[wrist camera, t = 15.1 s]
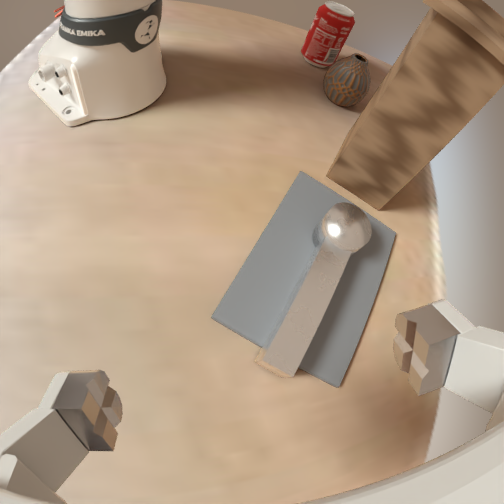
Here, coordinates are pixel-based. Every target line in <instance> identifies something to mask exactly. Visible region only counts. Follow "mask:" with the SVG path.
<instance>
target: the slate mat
mask: <svg viewBox="0 0 504 504" xmlns="http://www.w3.org/2000/svg"><path fill="white" fill-rule="evenodd" d="M341 202H347V203H351V202H350V201H348V200H347V199H345V198H344V197H342V196H341V195H339V194H337V193H336V192H334V191H333V190H331V189H330V188H328V187H326V186H325V185H323V184H322V183H320V182H318V181H317V180H315V179H313V178H312V177H310V176H309V175H307V174H305V173H304V172H302V171H300V173H299V174H298V176H297V178H296V179H295V181H294V183H293V184H292V186H291V187H290V189H289V191H288V192H287V194H286V196H285V197H284V199H283V201H282V202H281V204H280V205H279V207H278V209H277V210H276V212H275V214H274V215H273V217H272V219H271V220H270V222H269V223H268V225H267V227H266V228H265V230H264V232H263V233H262V235H261V237H260V238H259V240H258V241H257V243H256V245H255V246H254V248H253V250H252V251H251V253H250V255H249V256H248V258H247V259H246V261H245V263H244V264H243V266H242V268H241V269H240V271H239V273H238V274H237V276H236V277H235V279H234V281H233V282H232V284H231V286H230V287H229V289H228V291H227V292H226V294H225V295H224V297H223V299H222V300H221V302H220V304H219V305H218V307H217V309H216V310H215V312H214V313H213V315H212V317H211V318H212V319H213V320H215V321H217V322H218V323H220V324H222V325H223V326H225V327H227V328H229V329H230V330H232V331H234V332H235V333H237V334H239V335H240V336H242V337H244V338H246V339H247V340H249V341H251V342H253V343H254V344H256V345H258V346H260V347H261V348H262V347H263V345H264V343H265V341H266V340H267V338H268V336H269V334H270V332H271V330H272V329H273V327H274V325H275V323H276V321H277V319H278V318H279V316H280V314H281V312H282V310H283V308H284V306H285V305H286V303H287V301H288V299H289V297H290V295H291V293H292V291H293V289H294V287H295V286H296V284H297V282H298V280H299V278H300V276H301V274H302V272H303V270H304V268H305V266H306V264H307V262H308V260H309V258H310V256H311V254H312V252H313V250H314V248H315V246H314V243H313V239H312V235H313V230H314V228H315V226H316V225H317V224H318V223H319V222H320V221H321V219H322V218H323V217H324V216H325V215H326V214H327V212H328V211H329V210H330V209H331V208H332V206H334V205H335V204H337V203H341ZM351 204H353V203H351ZM353 205H354V204H353ZM355 206H356V205H355ZM361 210H362V209H361ZM362 211H363V210H362ZM363 212H364V213H365V214H366V216H367V217H368V219H369V221H370V224H371V229H372V233H371V238H370V240H369V241H368V243H367V244H366V245H364V246H363V247H362V248H361V249H359V250H358V251H357V252H355V253H354V254H353V255H352V256H350V257H349V259H348V262H347V264H346V266H345V269H344V271H343V273H342V276H341V278H340V280H339V282H338V285H337V287H336V289H335V292H334V294H333V296H332V298H331V300H330V303H329V305H328V307H327V309H326V311H325V313H324V316H323V318H322V320H321V322H320V324H319V326H318V328H317V330H316V332H315V335H314V337H313V339H312V341H311V343H310V345H309V347H308V349H307V351H306V353H305V355H304V357H303V359H302V361H301V363H300V365H299V367H298V368H300V369H301V370H303V371H305V372H307V373H309V374H311V375H313V376H315V377H317V378H319V379H321V380H323V381H324V382H326V383H328V384H330V385H332V386H334V387H339V386H340V384H341V381H342V379H343V377H344V375H345V372H346V370H347V368H348V366H349V363H350V361H351V359H352V356H353V354H354V351H355V349H356V347H357V344H358V342H359V339H360V337H361V334H362V332H363V329H364V326H365V324H366V321H367V319H368V316H369V313H370V311H371V308H372V305H373V302H374V300H375V297H376V294H377V291H378V288H379V285H380V282H381V279H382V277H383V273H384V270H385V267H386V264H387V261H388V258H389V255H390V252H391V248H392V245H393V242H394V238H395V235H396V232H394V231H393V230H391V229H390V228H388V227H387V226H386V225H384V224H383V223H381V222H380V221H378V220H377V219H375V218H374V217H372V216H371V215H369V214H368V213H366V212H365V211H363Z"/></svg>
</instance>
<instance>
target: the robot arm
mask: <svg viewBox="0 0 504 504" xmlns="http://www.w3.org/2000/svg"><path fill="white" fill-rule="evenodd" d="M64 3H65V5H64V6H62V7H60V8H58V9H57V10H55V11H54V12H57V11H59V10H61V9H63V10H62V11H60V12H59V13H58V14H57V15H56V16H55V18H56V17H58V16H60V15H61V20H60V26H59V30H58V31H57V32H56V33H55V34H54V35H53V36H52V37H51V38H50V39H49V40H48V41H47V42H46V43H45V44H44V45H43V46H42V48H41V49H40V51H39V54H38V61H39V66H40V67H39V68H38V69H37V70H36V71H35V73H34V74H33V75H32V76H31V78H30V80H29V82H28V83H29V87H30V89H31V90H32V91H33V92H34V93H35V94H36V95H37V96H38V97H39V98H40V99H41V100H42V101H43V102H44V103H45V104H46V105H47V106H48V107H49V108H50V109H51V110H52V111H53V112H54V113H55V114H56V115H57V116H58V118H59V119H60V120H61V121H62V122H63V123H64V124H65V125H67V126H76V125H79V124H82V123H85V122H88V121H90V120H98V119H112V118H118V117H123V116H126V115H129V114H132V113H135V112H137V111H139V110H142V109H143V108H145V107H147V106H149V105H150V104H151V103H153V102H154V101H155V100H156V99H157V98H158V97H159V96H160V95H161V94H162V92H163V91H164V89H165V86H166V75H165V72H164V69H163V65H162V53H161V52H160V43H159V32H158V30H159V25H160V21H161V13H162V0H64ZM395 327H396V329H397V330H398V331H399V332H398V334H397V335H396V337H395V338H394V344H393V350H394V356H395V359H396V362H397V364H398V366H399V367H400V369H401V370H402V371H404V372H407V373H409V377H408V381H409V383H410V384H411V386H412V387H413V389H414V390H415V392H416V393H417V395H418V396H420V395H423V394H425V393H428V392H431V391H433V390H436V389H438V388H441V387H443V386H444V388H446V389H447V390H449V391H451V392H453V393H455V394H457V395H458V396H460V397H462V398H464V399H466V400H468V401H470V402H472V403H473V404H475V405H477V406H479V407H481V408H483V409H485V410H487V411H489V412H491V413H492V414H493V415H492V417H491V419H490V421H489V423H488V425H487V427H486V430H485V431H486V432H485V433H483V434H481V435H480V436H478V437H476V438H474V439H472V440H471V441H469V442H467V443H466V444H463V445H461V446H459V447H458V448H456V449H454V450H452V451H450V452H448V453H446V454H444V455H442V456H439V457H437V458H435V459H433V460H431V461H428V462H426V463H424V464H422V465H419V466H417V467H415V468H412V469H410V470H407V471H405V472H402V473H400V474H397V475H394V476H392V477H389V478H386V479H384V480H381V481H378V482H375V483H372V484H369V485H366V486H363V487H360V488H356V489H353V490H350V491H346V492H343V493H339V494H335V495H331V496H328V497H324V498H319V499H315V500H311V501H306V502H302V503H297V504H504V333H503V332H500V331H496V330H492V329H489V328H486V327H482V326H478V327H475V326H474V325H473V324H472V323H471V322H469V320H467V319H466V318H465V317H464V316H463V315H462V314H461V313H460V312H459V311H458V310H456V308H454V307H453V306H452V305H451V304H450V303H449V302H448V301H447V300H444V299H441V300H438V301H435V302H432V303H429V304H428V305H425V306H422V307H419V308H416V309H412V310H409V311H406V312H403V313H400V314H397V317H396V320H395ZM109 381H110V380H109V378H108V377H107V375H106V373H105V372H104V371H102V370H86V371H64V372H58V373H56V374H55V376H54V378H53V380H52V382H51V383H50V385H49V387H48V389H47V391H46V393H45V395H44V397H43V399H42V401H41V403H40V405H39V407H38V409H33V410H31V411H30V412H29V413H27V414H26V415H25V416H24V417H22V418H21V419H20V420H18V421H17V422H16V423H15V424H13V425H12V426H11V427H9V428H8V429H7V430H6V431H4V432H3V433H2V434H0V504H67V503H66V502H65V500H63V499H62V498H61V497H60V496H58V495H57V494H56V493H55V492H56V491H57V490H58V489H59V487H60V486H61V485H62V484H63V483H64V481H65V480H66V479H67V478H68V477H69V476H70V474H71V473H72V472H73V471H74V470H75V468H76V467H77V466H78V465H79V464H80V462H81V461H82V460H83V459H84V458H85V457H86V455H87V454H88V453H89V451H114V447H115V443H116V439H117V435H118V433H117V431H116V429H115V427H116V426H117V425H118V424H119V423H120V422H121V419H122V414H123V413H122V403H121V400H120V397H119V396H118V394H117V392H116V391H115V390H113V389H112V388H110V387H109V386H108V385H109Z"/></svg>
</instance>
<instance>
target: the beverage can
mask: <svg viewBox="0 0 504 504" xmlns="http://www.w3.org/2000/svg"><path fill="white" fill-rule="evenodd" d="M353 16H354V12H353V11H352V10H350V9H349V8H347V7H346V6H344V5H342V4H339V3H336V2H332V1H327V2H326V3H325V4H324V5H322V6H320V7H319V9H318V11H317V13H316V16H315V18H314V20H313V23H312V25H311V28H310V30H309V32H308V35H307V37H306V39H305V42H304V44H303V47H302V49H301V52H302V54H303V56H304V59H305V60H306V61H307V62H308V63H310V64H312V65H314V66H317V67H321V68H325V67H327V66H331V65H332V64H333V63H335V61H336V59H337V57H338V55H339V53H340V51H341V49H342V47H343V45H344V43H345V41H346V39H347V37H348V35H349V33H350V31H351V29H352V27H353V25H354V23H355V21H354V17H353Z"/></svg>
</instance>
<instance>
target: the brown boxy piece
mask: <svg viewBox="0 0 504 504" xmlns="http://www.w3.org/2000/svg"><path fill="white" fill-rule="evenodd" d="M423 3H425V4H427V5H428V6H430V7H431V8H430V10H429V11H428V13H427V14H426V16H425V18H424V19H423V20H422V22H421V24H420V25H419V27H418V28H417V30H416V31H415V33H414V34H413V36H412V37H411V39H410V41H409V42H408V44H407V45H406V47H405V48H404V50H403V51H402V53H401V55H400V56H399V57H398V59H397V60H396V62H395V63H394V65H393V67H392V68H391V70H390V71H389V73H388V74H387V76H386V77H385V79H384V80H383V82H382V83H381V85H380V86H379V88H378V89H377V91H376V92H375V94H374V95H373V97H372V98H371V100H370V101H369V103H368V104H367V106H366V107H365V109H364V110H363V112H362V113H361V115H360V116H359V118H358V119H357V121H356V122H355V124H354V125H353V127H352V128H351V130H350V131H349V133H348V135H347V137H346V139H345V141H344V142H343V144H342V146H341V148H340V150H339V152H338V154H337V156H336V158H335V160H334V162H333V164H332V166H331V168H330V169H329V171H328V173H327V175H326V177H328V178H330V179H331V180H333V181H334V182H336V183H338V184H339V185H341V186H342V187H344V188H345V189H347V190H348V191H350V192H351V193H353V194H355V195H356V196H358V197H359V198H361V199H362V200H364V201H365V202H367V203H368V204H370V205H371V206H372V207H374V208H375V209H377V210H378V211H379V210H380V209H381V208H382V207H383V206H384V205H385V204H386V203H387V202H388V201H389V200H391V199H392V198H393V197H394V196H395V195H396V194H397V193H398V192H399V191H400V190H401V189H402V188H403V187H404V186H405V185H406V184H407V183H408V182H409V181H410V180H412V179H413V178H414V177H415V176H416V175H417V174H418V173H419V172H420V171H421V170H422V169H423V168H424V167H425V166H426V165H427V164H428V163H429V162H430V161H431V160H432V159H433V158H434V157H435V156H436V155H437V154H438V153H439V152H440V151H441V150H442V149H443V148H444V147H445V146H446V145H447V144H448V143H449V142H450V141H451V140H452V139H453V138H454V137H455V136H456V135H457V134H458V133H459V132H460V130H462V129H463V128H464V126H465V125H466V124H467V123H468V122H469V121H470V120H471V119H472V118H473V117H474V116H475V115H476V114H477V113H478V112H479V111H480V110H481V109H482V107H483V106H484V105H485V104H486V103H487V102H488V101H489V100H490V99H491V98H492V97H493V96H494V95H495V94H496V92H497V91H498V90H499V89H500V88H501V87H502V86H503V84H504V18H503V17H501V16H500V15H499V14H498V13H497V12H496V11H495V10H493V9H492V8H491V7H490V6H488V5H487V4H486V3H485V2H484V1H482V0H423Z"/></svg>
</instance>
